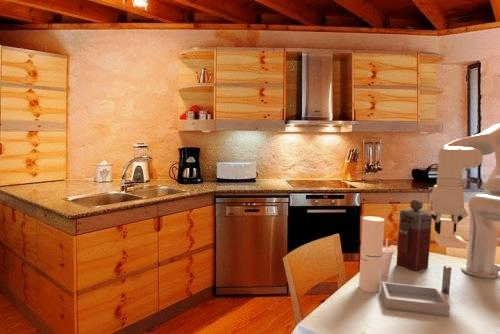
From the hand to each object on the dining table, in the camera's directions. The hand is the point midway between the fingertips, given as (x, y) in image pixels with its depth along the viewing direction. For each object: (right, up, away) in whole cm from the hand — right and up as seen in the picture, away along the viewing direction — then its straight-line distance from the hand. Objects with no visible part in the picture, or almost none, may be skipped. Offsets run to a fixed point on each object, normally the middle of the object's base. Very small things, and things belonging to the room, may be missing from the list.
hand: (444, 232), depth 132 cm
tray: (-17, -21, -13) cm, 30 cm away
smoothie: (-18, -18, +12) cm, 28 cm away
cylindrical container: (-28, -19, -2) cm, 34 cm away
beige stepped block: (-1, -3, -4) cm, 5 cm away
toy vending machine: (-4, -18, +20) cm, 27 cm away
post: (-2, -20, -4) cm, 21 cm away
